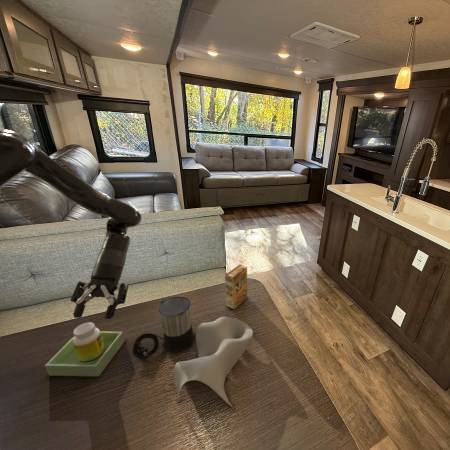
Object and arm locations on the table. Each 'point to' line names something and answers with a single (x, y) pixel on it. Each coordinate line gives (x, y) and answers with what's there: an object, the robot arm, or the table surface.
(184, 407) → the table surface
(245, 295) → the candy box
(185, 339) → the milk frother
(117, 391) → the table surface
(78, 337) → the pill bottle
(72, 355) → the shallow green tray
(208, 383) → the sculpture
